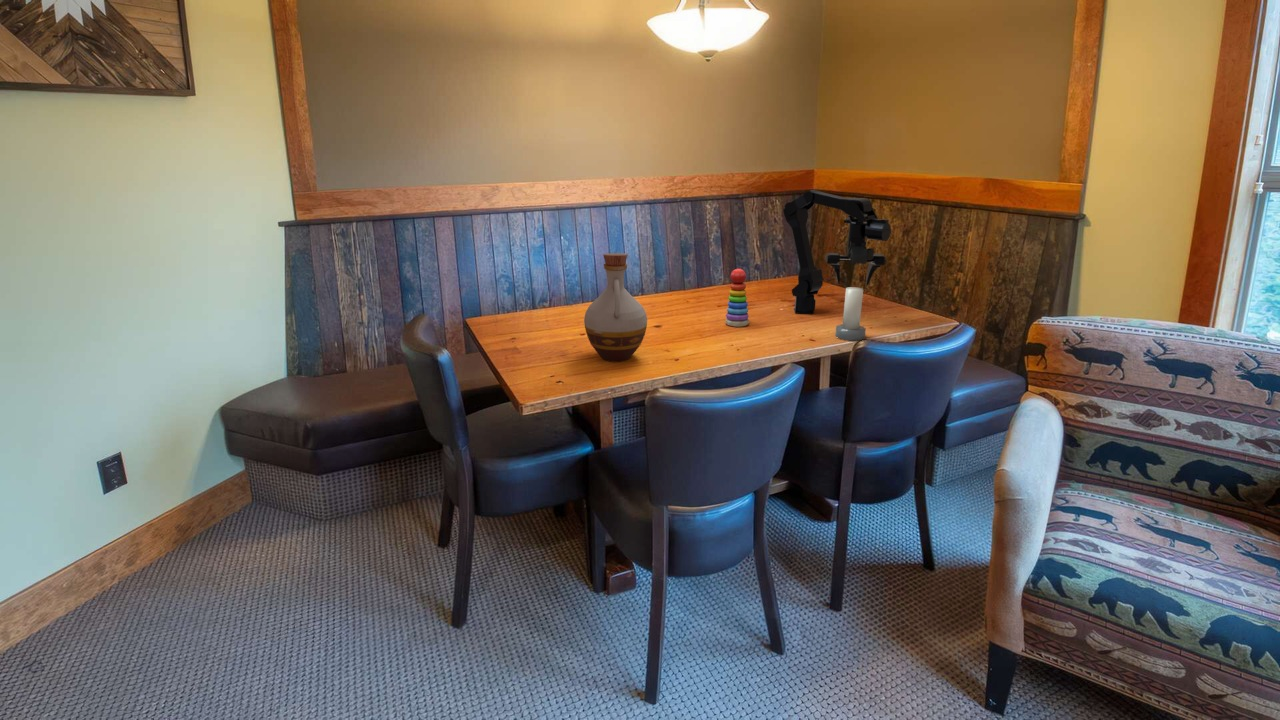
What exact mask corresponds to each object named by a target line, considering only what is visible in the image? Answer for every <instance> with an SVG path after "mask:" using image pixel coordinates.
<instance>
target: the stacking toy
mask: <svg viewBox="0 0 1280 720" xmlns="http://www.w3.org/2000/svg"><path fill="white" fill-rule="evenodd" d="M730 279H731V281H732V283H731V284H730V287H729V288H730V290H729V293H728V294H729V296H728V301H727V305H728V306H727V309H726V312H727V313H726V314H725V317H726V318H725V322H724V323H725V324H726V325H727V326H730V327H735V328H736V327H739V328H741V327H746V326H748V325H749V324H750V320H749V313H748V312H749V308H748V304H749V303H748V302H747V300H748V297H747V291H746V287H747V286H746V283H744V282H745V281H746V279H747V274H746V272H745V271H744V269H742V268H736V269H734V270H732V271H731V273H730Z"/></svg>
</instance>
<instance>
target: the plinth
mask: <svg viewBox="0 0 1280 720" xmlns="http://www.w3.org/2000/svg"><path fill="white" fill-rule="evenodd" d="M842 325H843V323H842V324H838V325H836V327H835V336H836V337H838V338H840V339H839V340H841V339H843V340H842V341H846V340H849V341H848V342H860V341H859V340H861V341H863V340H862V339H864V340H865V339H866V327H864V326H861V325H860V327H859V329H858V330H847V329H844V328H842ZM836 337H835V338H836ZM838 338H837V339H838ZM856 340H857V341H856Z"/></svg>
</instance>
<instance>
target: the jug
mask: <svg viewBox="0 0 1280 720" xmlns="http://www.w3.org/2000/svg"><path fill="white" fill-rule="evenodd" d="M602 256H603V260H604V262H605V263H603V268H604V270H605V274H606V281H607V285H606V288H605V290H604V291H603V292H602V293H601V294H600V295H598V297H597V298H595V299H594V301H592V302H591V304H590V305H588V308H587V309H586V310H585V313H584V317H583V318H584V320H583V321H584V322H583V323H584V329H585V333H586V336H587V339H588V341H589V343H590V345H591V347H593V349H594V350H595V352H596V353H597V354H598V355H599V356H600V357H601V359H603V360H604V361H606V362H607V361H608V362H612V363H614V362H624V361H628V360H630V359H631V358H632V356H633V355H634V354H635V353H636V351H637V350H639V348H640V346H641V345H642V343H643V340H644V338H645V335H646V331H647V328H648V315H647V312H646V310H645V308H644V306H643V305H642V304H641V303H640V302H639V301H638V300H637V299H636V298H635V297H634V296H632V295H631V293H630V292H629V291H628V290H627V289H626V288H625V285H624V283H625V273H626V270H627V268H628V263H627V260H628V253H621V252H620V253H619V252H618V253H617V252H614V253H613V252H612V253H611V252H610V253H603V254H602Z"/></svg>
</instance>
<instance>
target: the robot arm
mask: <svg viewBox="0 0 1280 720" xmlns="http://www.w3.org/2000/svg"><path fill="white" fill-rule="evenodd" d="M815 204H817V205H821V206H825V207H828V208H832V209H837V210H840V211H841V212H843V213H844V214H845V215H847V216H848V217H847V218H845V219H844V220H843V223H844V224H849V226H848V235H847V247H846V255H840V254H839V253H838V252H827V253H826V254H825V257H824V258H825V260H824V261H825V262H826V264H829V265H830V267H832V268H833V270H834V273H835V277H836V281H837V284H838V285H840V284H841V264H840V262H850V263H851V264H854V265H856V264H862V265H865V264H867V263H868V267H867V273H866V278H865V285H866V286H868V285H869V283H870V281H871V279H872V276H873V274H874V273H875V271H876V270H877V269H878V268H881V267H882V266H886V264H887V263H886V261H887V257H886V256H885V255H883V254H882V253H875V251H874V250H875V249H874V248H867V239H868V240H873V241H880V242H881V241H882V242H887V241H888V240H889V239H890V237H891V233H892V228H891V225H890V223H889V221H890V220H889V219H888V218H883V219H881V218H879V217H878V216H877V214H876V212H875V209H874V208H873V204H872V201H871V200H870V199H869V198H866V197H864V198H863V197H844V196H841V195H840V196H839V195H837V194H836V195H835V194H831V193H827V192H824V191H820V190H817V189H813V190H808V191H806V192H805V193H804V194H802V195H800V196H798V197H797V198H795V199H794V200H792V201H789V202H787V203H786V204H784V207H783V208H782V212H783V216H784V220H785V221H786V223H787V224H788V225H789V227H790V228H791V231H792V236H793V240H794V241H793V242H794V244H795V250H796V254H797V260H798V265H799V273H798V276H797V284H796V285H795V286H794V287H793V288H791V294H792V296H793V297H795V299H794V307H793V311H794V313H795V314H804V315H805V314H808V315H811V314H812V315H813V314H815V311H816V300H817V299H815V295H818V293H819V290H821V288H822V287H823V285H824V283H823V282H824V281H825V279H824V278H823V271H822V269H821V268H819V269H818V268H817V267H816V265H815V264H814V258H813V254H812V248H811V245H810V244H811V243H810V240H809V234H808V228H807V221H808V219H809V210H811V209H812V208H813V207H814V206H815Z"/></svg>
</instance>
